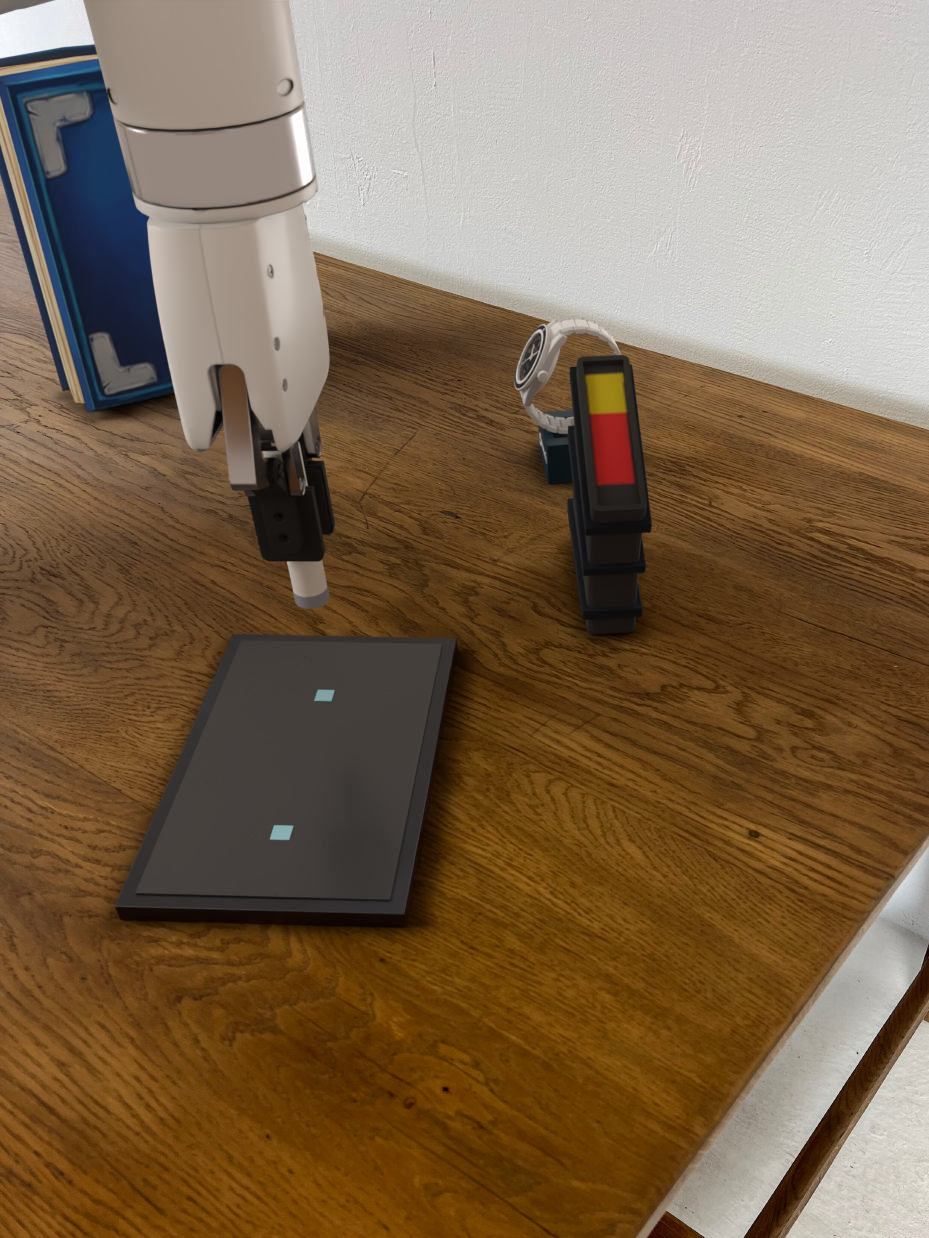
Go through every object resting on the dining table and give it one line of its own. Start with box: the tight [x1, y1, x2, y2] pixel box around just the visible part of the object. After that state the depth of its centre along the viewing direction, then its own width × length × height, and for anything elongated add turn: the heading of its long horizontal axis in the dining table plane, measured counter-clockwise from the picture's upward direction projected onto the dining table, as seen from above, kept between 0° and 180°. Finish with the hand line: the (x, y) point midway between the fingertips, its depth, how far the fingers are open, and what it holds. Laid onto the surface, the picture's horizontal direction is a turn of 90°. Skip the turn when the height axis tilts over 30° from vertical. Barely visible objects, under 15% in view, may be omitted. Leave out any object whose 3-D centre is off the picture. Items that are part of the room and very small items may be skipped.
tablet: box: [114, 633, 459, 928], centre depth 63 cm, size 14×22×1 cm, turn 178°
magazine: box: [566, 354, 653, 636], centre depth 72 cm, size 4×13×15 cm, turn 5°
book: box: [0, 43, 175, 414], centre depth 93 cm, size 22×7×25 cm, turn 130°
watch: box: [513, 316, 622, 485], centre depth 85 cm, size 6×8×11 cm
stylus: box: [262, 442, 331, 610], centre depth 59 cm, size 2×2×9 cm
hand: (299, 543), depth 59 cm, fingers closed on stylus, 1 cm apart
